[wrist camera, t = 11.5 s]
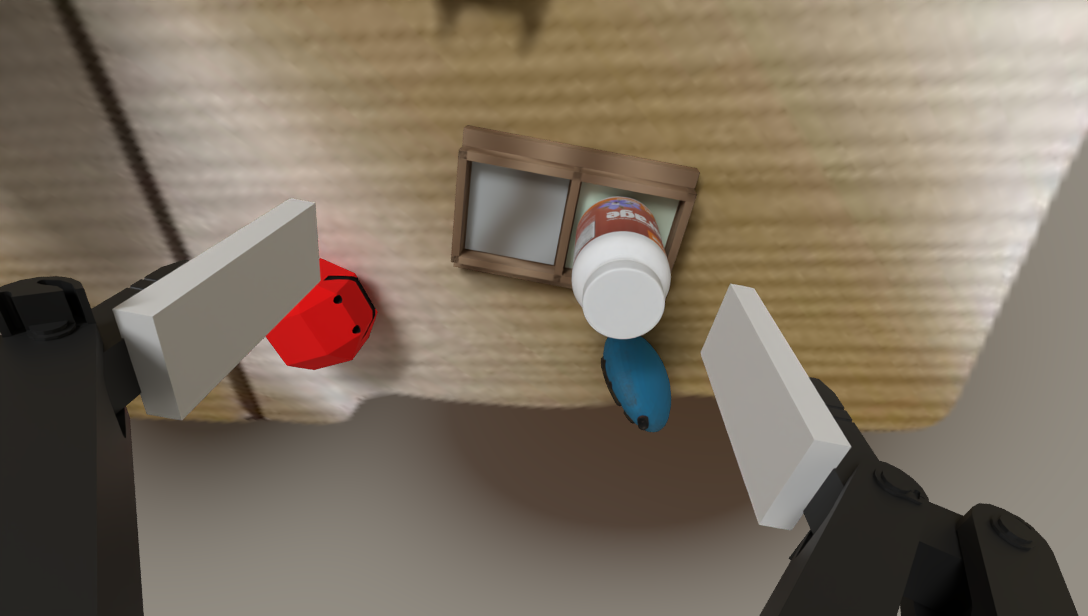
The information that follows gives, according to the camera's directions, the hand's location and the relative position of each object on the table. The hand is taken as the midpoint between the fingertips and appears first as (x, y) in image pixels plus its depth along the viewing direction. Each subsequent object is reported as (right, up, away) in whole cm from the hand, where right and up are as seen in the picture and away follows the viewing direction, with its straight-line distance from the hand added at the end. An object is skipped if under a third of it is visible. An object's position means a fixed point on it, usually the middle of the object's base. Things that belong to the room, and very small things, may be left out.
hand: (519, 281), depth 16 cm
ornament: (+9, -5, +29) cm, 30 cm away
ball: (-18, +1, +29) cm, 34 cm away
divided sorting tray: (+3, +6, +23) cm, 24 cm away
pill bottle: (+6, +5, +22) cm, 23 cm away
